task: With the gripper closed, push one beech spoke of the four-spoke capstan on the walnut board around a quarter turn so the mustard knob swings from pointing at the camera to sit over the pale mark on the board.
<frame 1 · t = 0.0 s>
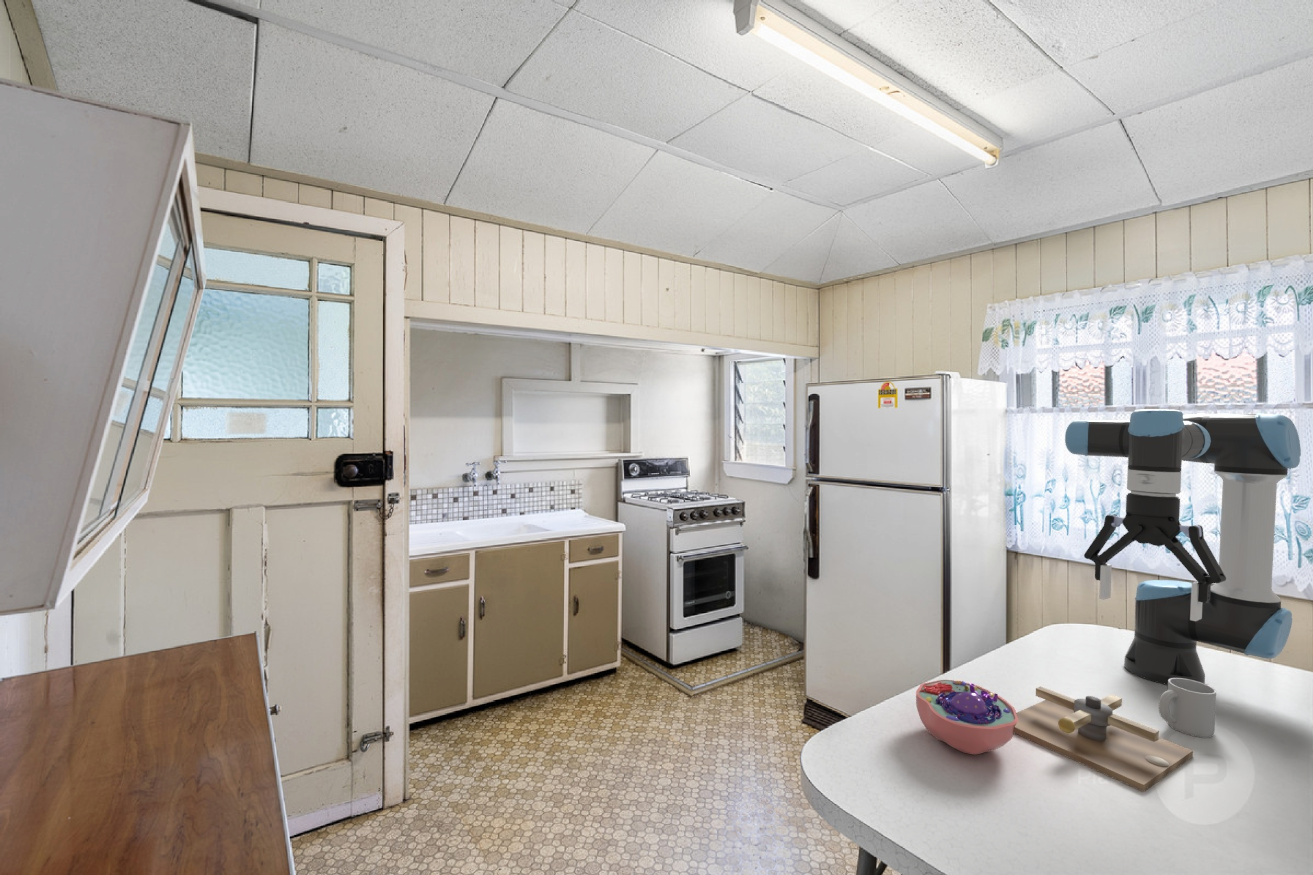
hand: (1147, 608, 108), 28 cm above the table, fingers open, 13 cm apart
cup: (1183, 729, 119), on the table
cell model: (962, 743, 113), on the table
capstan: (1091, 709, 113), point 6 cm above the table, hinge at 0.0°
stand: (1091, 740, 114), on the table
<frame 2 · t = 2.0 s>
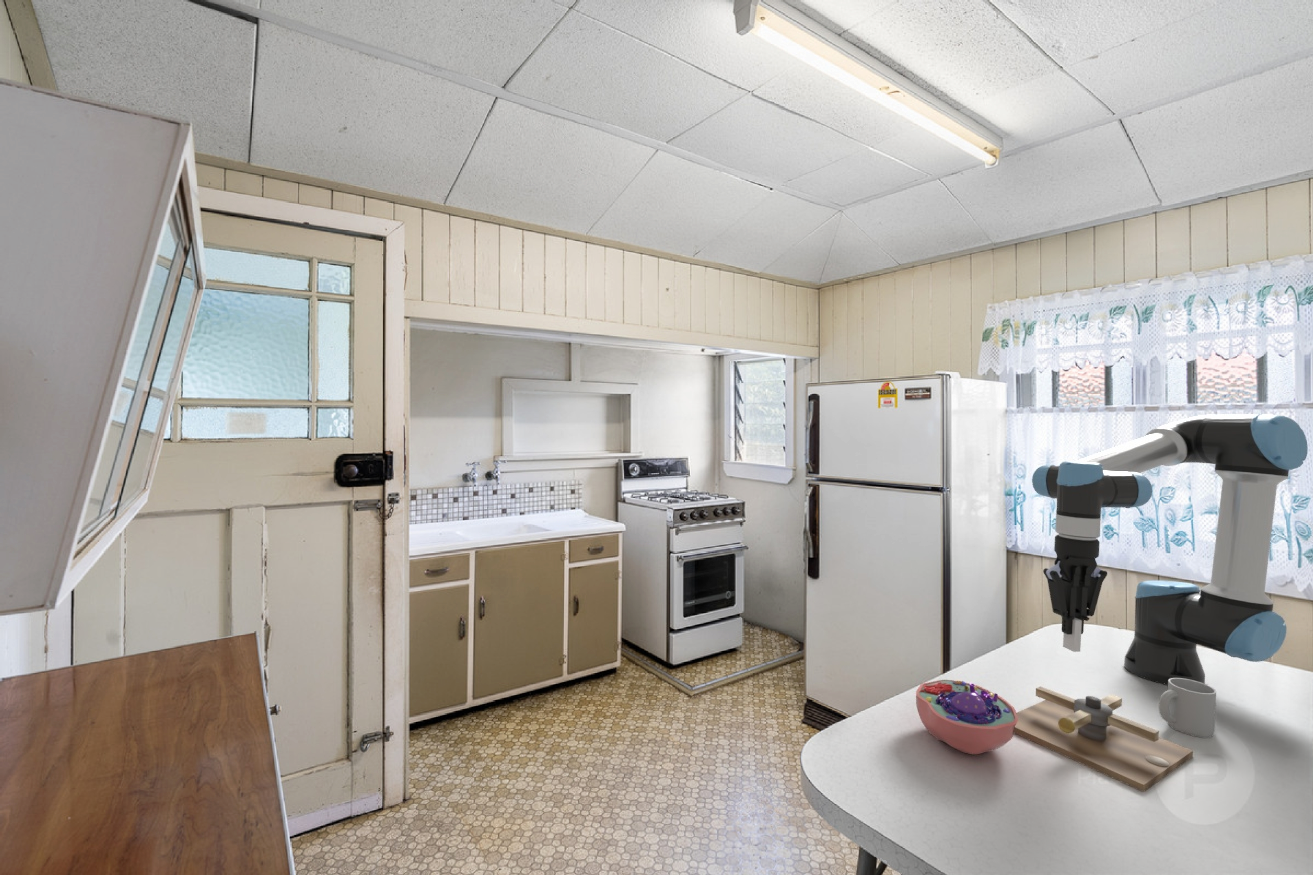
hand: (1071, 648, 121), 15 cm above the table, fingers closed
nothing on the table moved.
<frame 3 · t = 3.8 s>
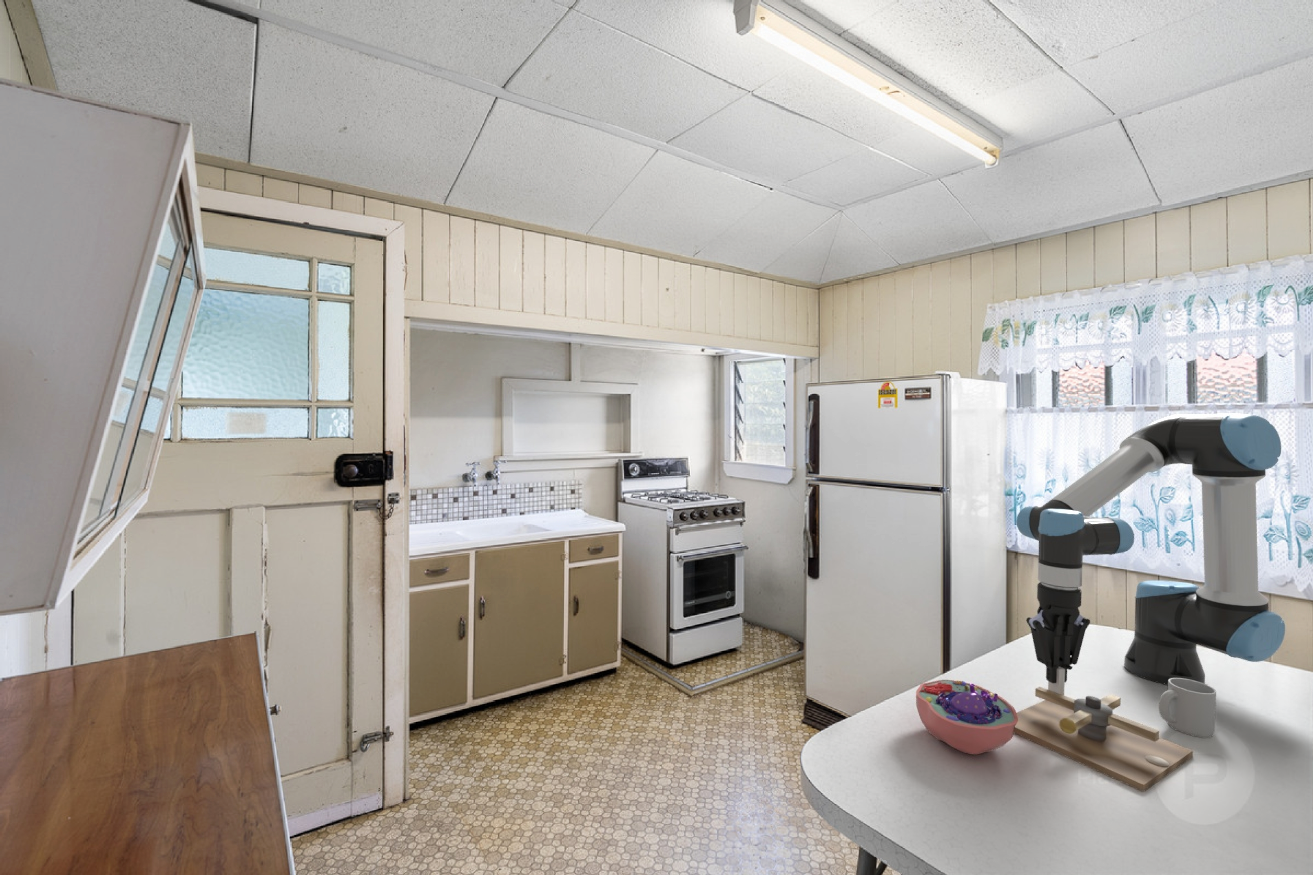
hand: (1055, 697, 121), 5 cm above the table, fingers closed
capstan: (1091, 709, 113), point 6 cm above the table, hinge at 1.3°, touching gripper
everything else where it was.
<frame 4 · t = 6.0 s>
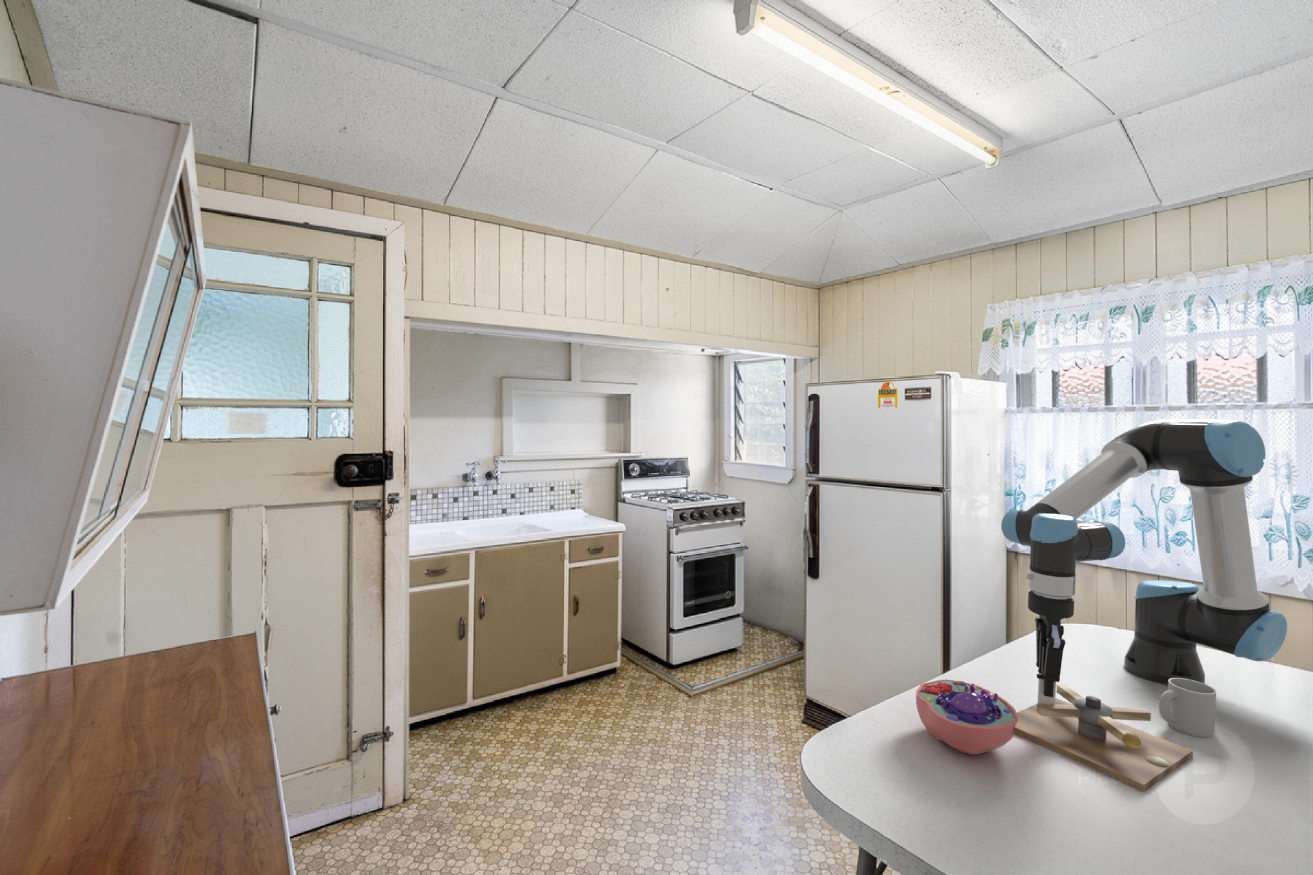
hand: (1046, 709, 116), 5 cm above the table, fingers closed
capstan: (1095, 710, 113), point 6 cm above the table, hinge at 55.5°, touching gripper
everything else where it was.
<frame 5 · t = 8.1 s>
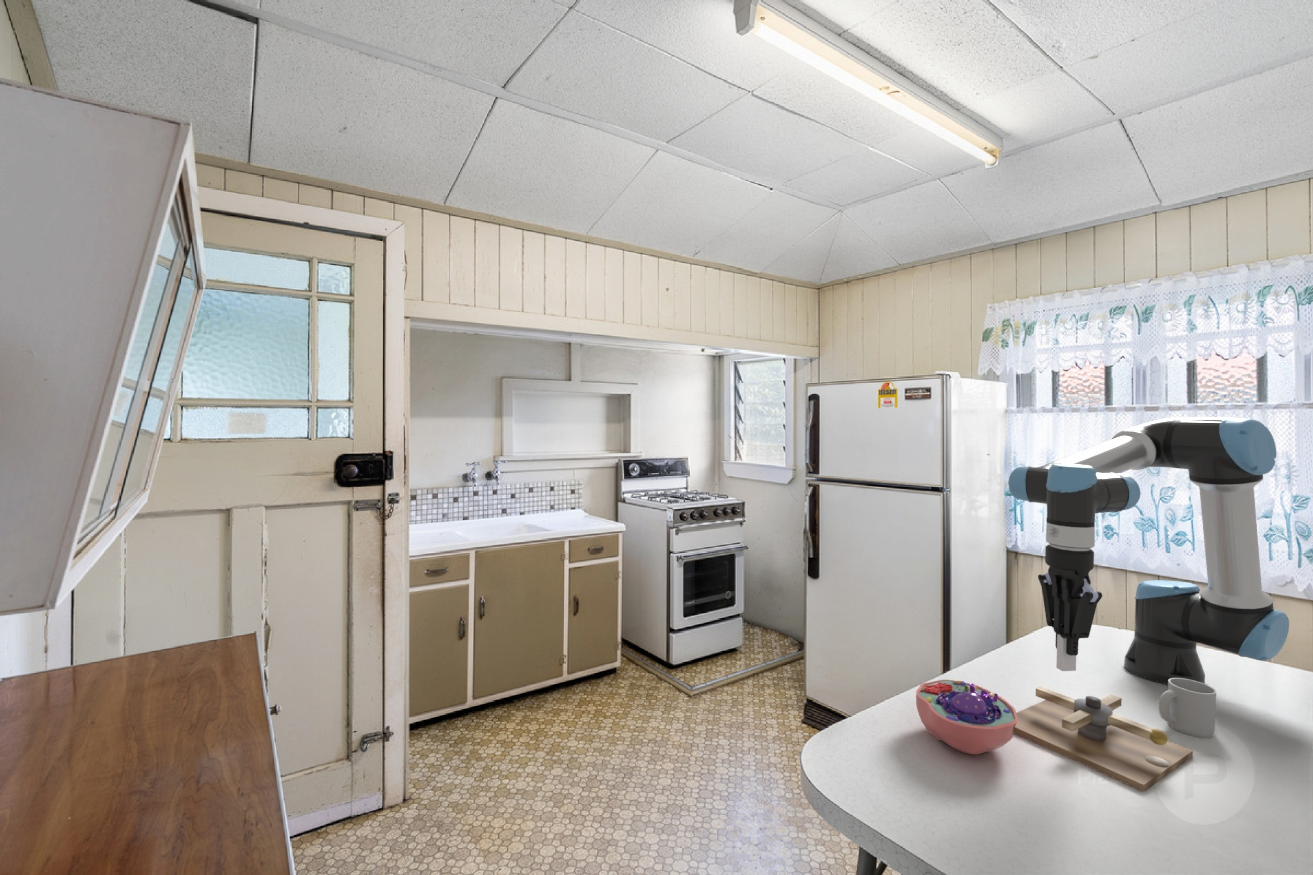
hand: (1066, 668, 111), 15 cm above the table, fingers closed
capstan: (1097, 710, 113), point 6 cm above the table, hinge at 90.3°
everything else where it was.
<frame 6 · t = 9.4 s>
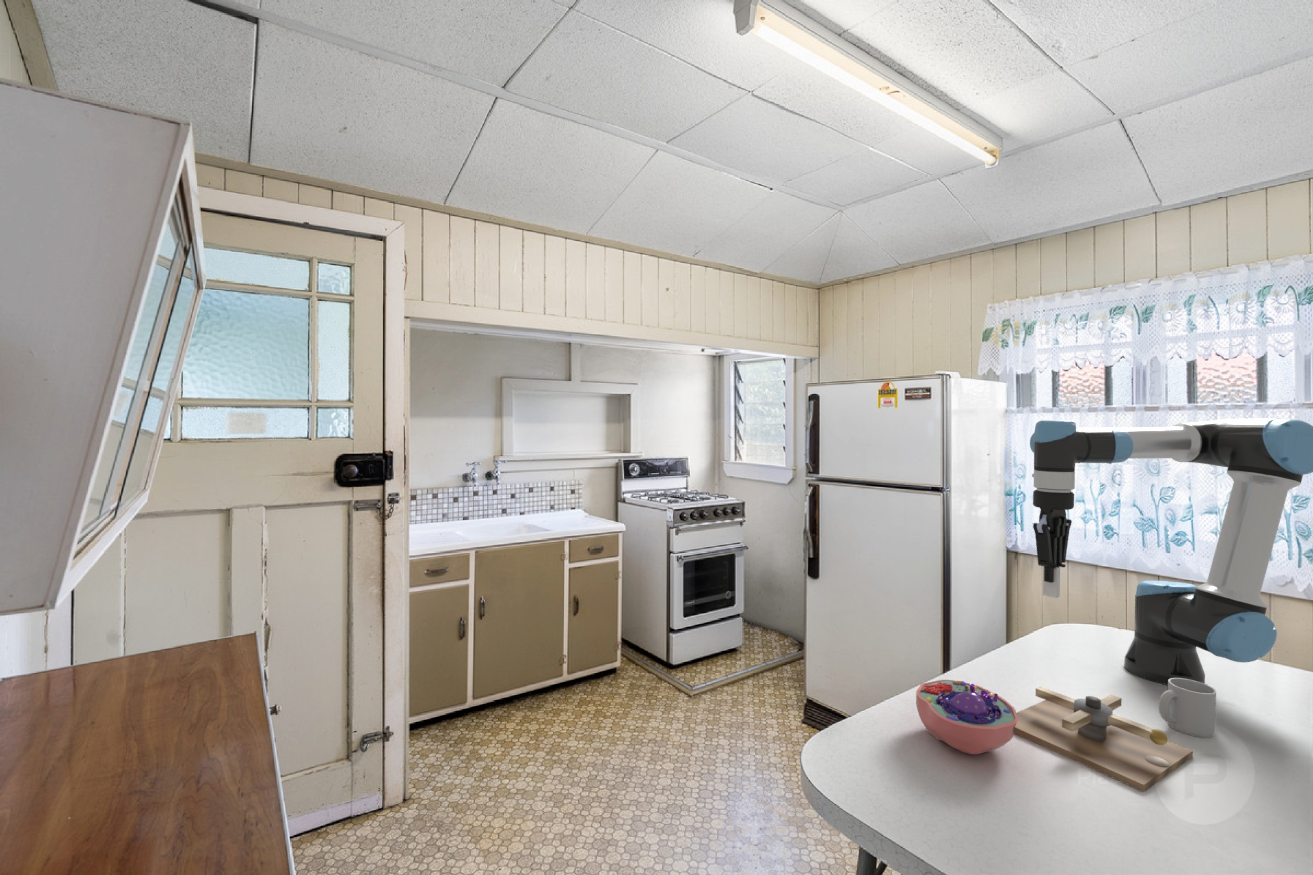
hand: (1051, 595, 130), 24 cm above the table, fingers closed
nothing on the table moved.
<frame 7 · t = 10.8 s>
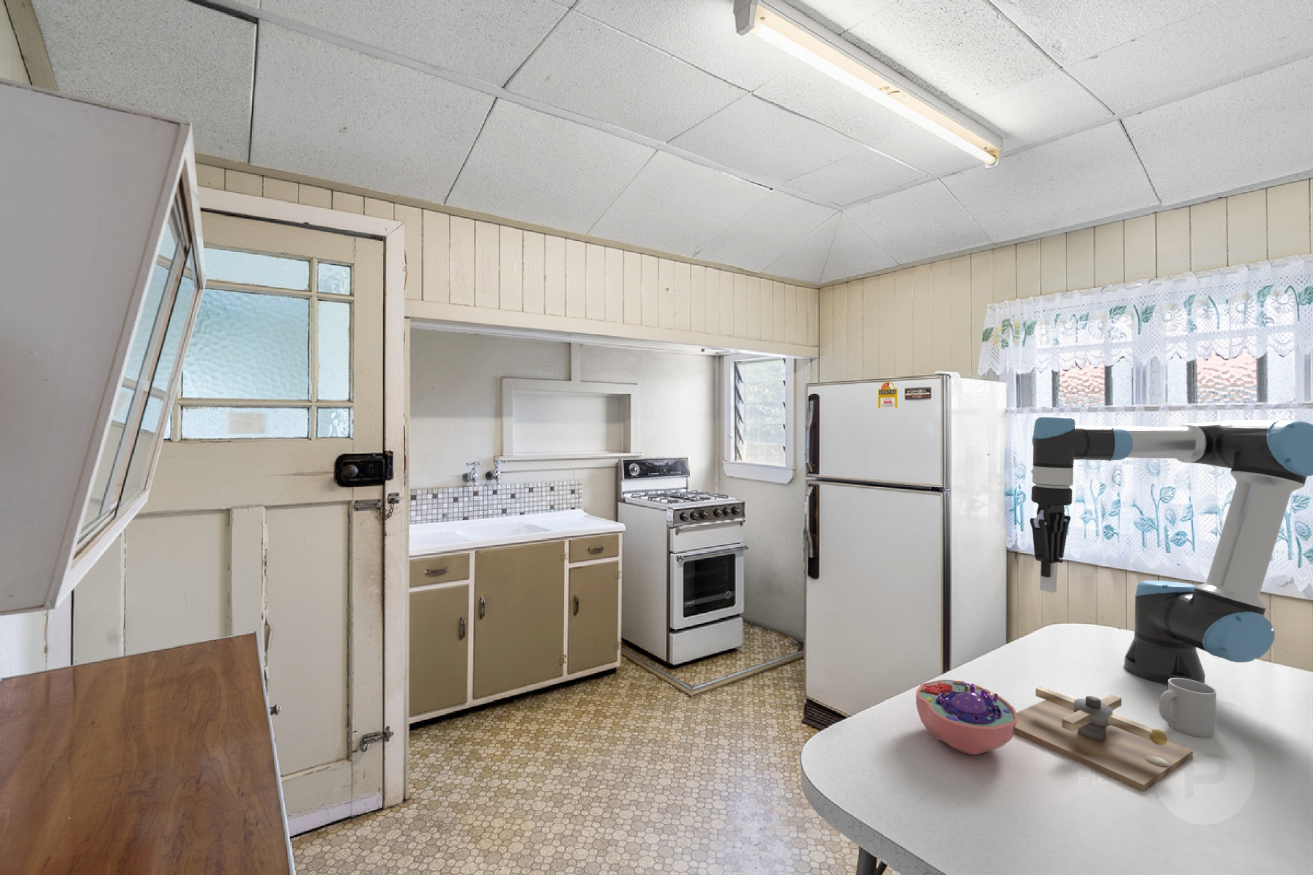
hand: (1047, 590, 131), 24 cm above the table, fingers closed
nothing on the table moved.
at the end: capstan at +90° (first picture: +0°) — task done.
